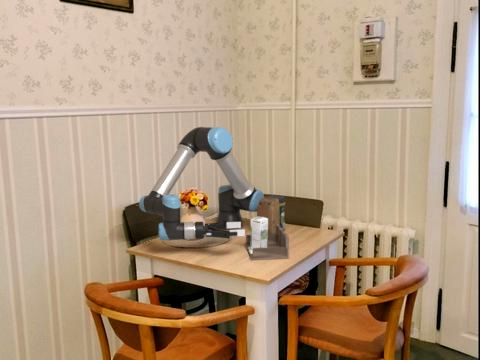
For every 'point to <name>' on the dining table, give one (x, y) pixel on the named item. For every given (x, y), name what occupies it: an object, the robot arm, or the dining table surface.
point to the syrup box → (259, 233)
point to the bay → (271, 247)
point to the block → (269, 212)
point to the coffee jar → (281, 209)
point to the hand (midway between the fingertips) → (242, 228)
